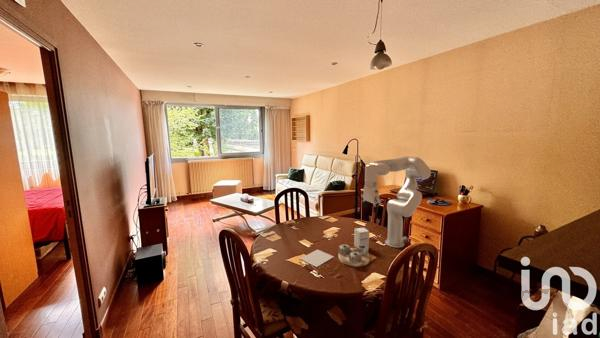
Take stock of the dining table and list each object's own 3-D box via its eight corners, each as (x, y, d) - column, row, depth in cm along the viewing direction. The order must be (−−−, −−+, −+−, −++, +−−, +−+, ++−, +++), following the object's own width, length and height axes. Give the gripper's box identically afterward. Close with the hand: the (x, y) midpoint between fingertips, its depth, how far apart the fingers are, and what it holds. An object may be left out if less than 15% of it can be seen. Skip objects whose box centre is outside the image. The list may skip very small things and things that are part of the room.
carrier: (356, 248, 160) (356, 238, 159) (376, 261, 143) (376, 250, 142) (332, 254, 152) (332, 244, 151) (350, 269, 135) (350, 258, 134)
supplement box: (359, 250, 157) (359, 232, 155) (353, 245, 164) (354, 228, 162) (369, 249, 159) (369, 231, 157) (363, 244, 166) (363, 227, 164)
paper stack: (346, 263, 143) (346, 262, 143) (319, 281, 125) (319, 280, 125) (317, 250, 159) (317, 249, 159) (289, 264, 142) (289, 263, 142)
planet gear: (362, 249, 154) (363, 243, 154) (370, 254, 148) (370, 248, 147) (354, 251, 151) (354, 245, 151) (361, 256, 145) (361, 250, 144)
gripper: (385, 185, 142) (384, 213, 144) (366, 181, 157) (365, 206, 160) (376, 187, 139) (375, 215, 141) (357, 182, 154) (356, 207, 157)
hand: (370, 210), depth 150 cm, fingers open, 9 cm apart
